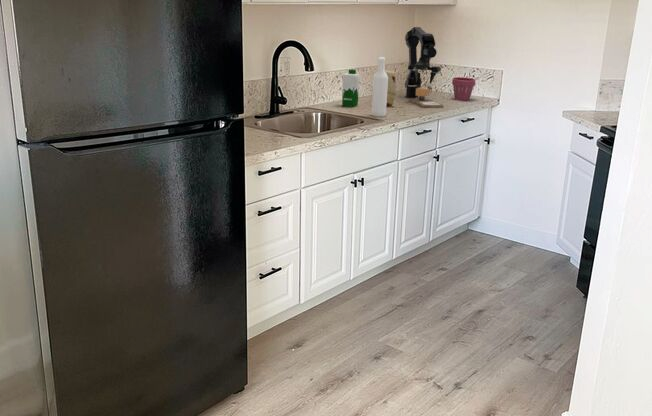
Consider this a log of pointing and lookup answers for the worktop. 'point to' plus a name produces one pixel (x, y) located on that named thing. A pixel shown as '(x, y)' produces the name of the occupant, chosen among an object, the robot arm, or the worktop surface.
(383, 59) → the bottle
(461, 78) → the plant pot
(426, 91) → the orange tan square block
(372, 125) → the worktop surface
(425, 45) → the robot arm
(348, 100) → the milk carton
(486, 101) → the worktop surface
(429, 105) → the post board
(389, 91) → the food model
